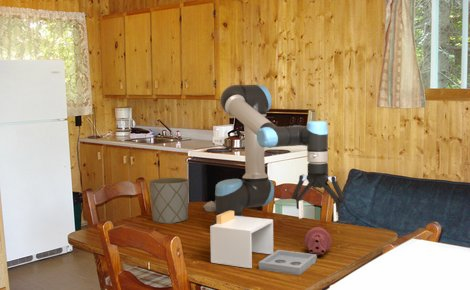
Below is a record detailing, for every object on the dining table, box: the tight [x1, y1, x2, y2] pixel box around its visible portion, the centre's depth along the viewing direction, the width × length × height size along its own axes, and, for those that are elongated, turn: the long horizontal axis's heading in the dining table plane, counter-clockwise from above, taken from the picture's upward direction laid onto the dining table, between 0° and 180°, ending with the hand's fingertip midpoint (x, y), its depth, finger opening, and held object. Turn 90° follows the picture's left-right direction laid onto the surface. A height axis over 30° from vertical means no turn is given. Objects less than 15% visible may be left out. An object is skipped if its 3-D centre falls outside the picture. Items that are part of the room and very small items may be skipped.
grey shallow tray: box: [258, 249, 318, 276], centre depth 190 cm, size 15×17×2 cm
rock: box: [203, 199, 216, 212], centre depth 283 cm, size 18×20×10 cm
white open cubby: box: [209, 210, 274, 269], centre depth 198 cm, size 16×19×16 cm
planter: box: [148, 177, 190, 225], centre depth 262 cm, size 19×19×20 cm
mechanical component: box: [304, 226, 332, 256], centre depth 202 cm, size 12×10×10 cm
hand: (318, 219), depth 201 cm, fingers open, 13 cm apart
